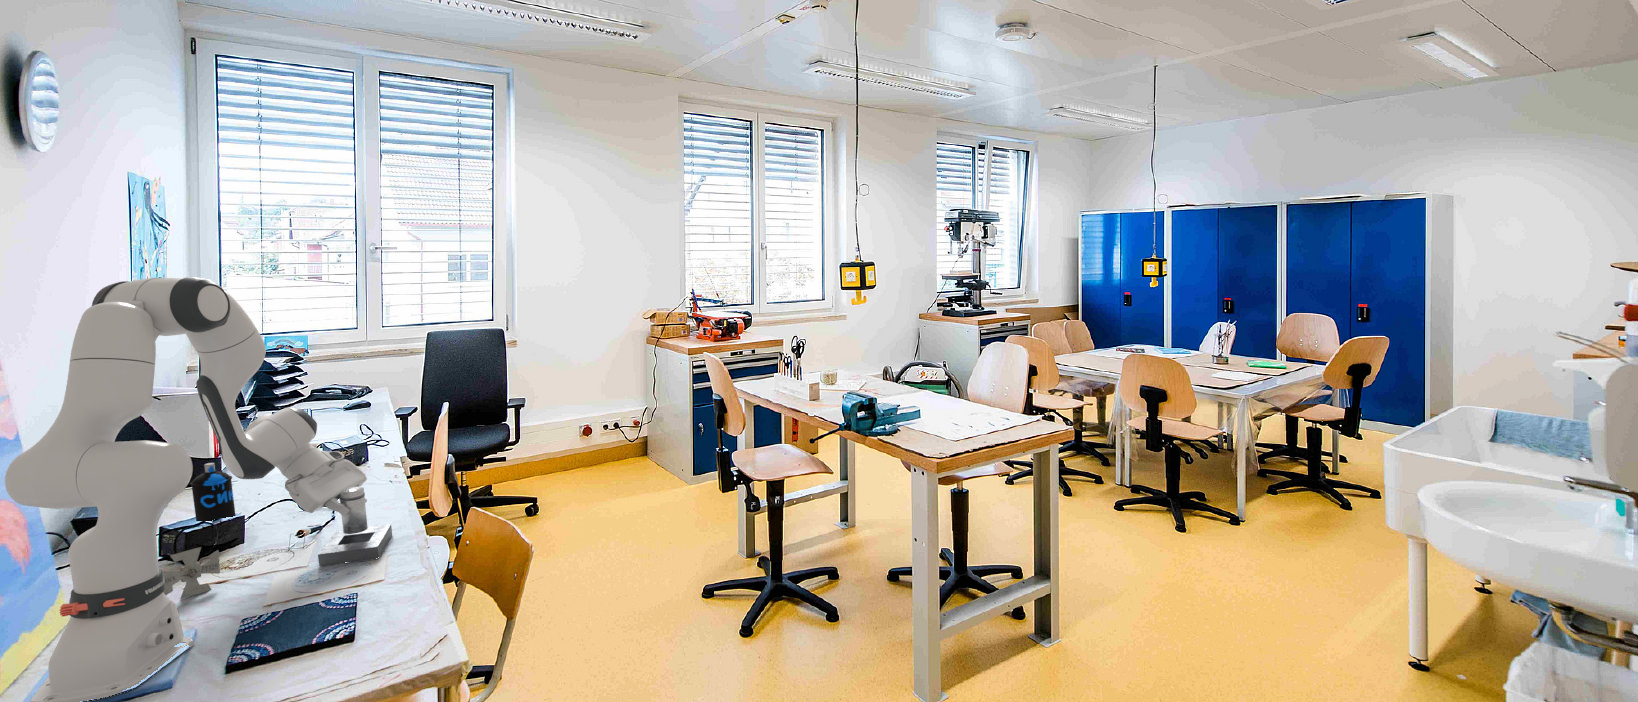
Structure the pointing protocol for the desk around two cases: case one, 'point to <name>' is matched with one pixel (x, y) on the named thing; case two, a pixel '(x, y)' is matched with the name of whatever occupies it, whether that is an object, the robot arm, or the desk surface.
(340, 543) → the grey rectangular frame
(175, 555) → the cross
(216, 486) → the aerosol can
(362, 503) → the cylinder
